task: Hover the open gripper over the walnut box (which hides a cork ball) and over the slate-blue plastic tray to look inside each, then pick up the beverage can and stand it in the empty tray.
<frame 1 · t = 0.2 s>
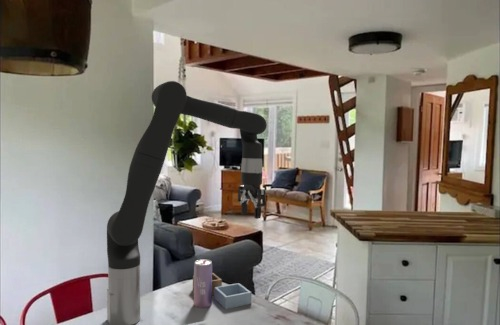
hand: (250, 216, 135), 29 cm above the table, fingers open, 8 cm apart
tray: (232, 303, 129), on the table
walnut box: (206, 294, 136), on the table
cork ball: (206, 291, 136), point 1 cm above the table, touching walnut box
beverage can: (202, 306, 126), on the table
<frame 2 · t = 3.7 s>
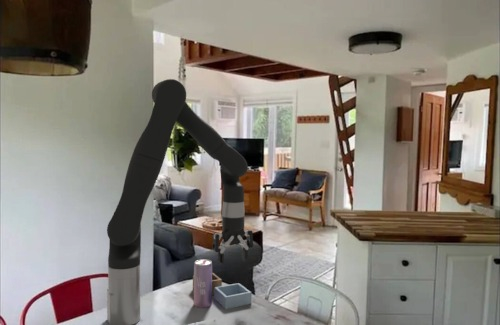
hand: (232, 261, 128), 14 cm above the table, fingers open, 8 cm apart
nothing on the table moved.
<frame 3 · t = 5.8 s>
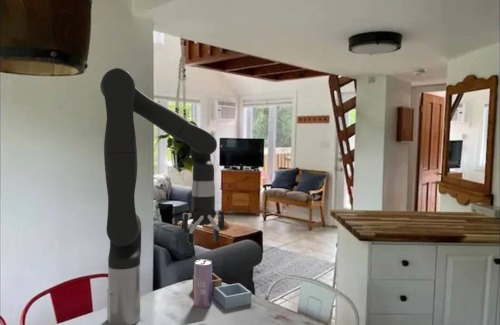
hand: (203, 242, 125), 21 cm above the table, fingers open, 8 cm apart
nothing on the table moved.
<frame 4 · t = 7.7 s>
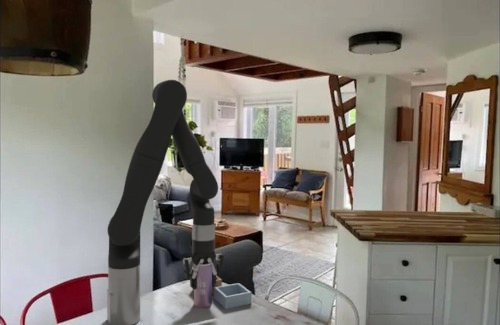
hand: (203, 286, 125), 7 cm above the table, fingers closed on beverage can, 6 cm apart
beverage can: (202, 306, 126), on the table, touching gripper
everything else where it was.
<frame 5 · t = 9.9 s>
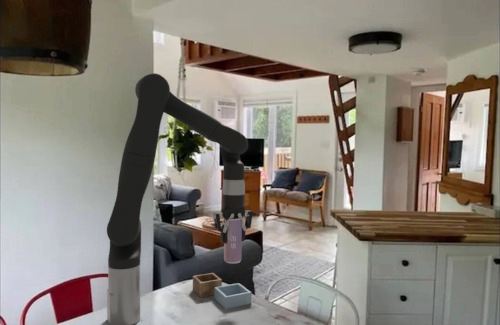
hand: (233, 241, 128), 21 cm above the table, fingers closed on beverage can, 6 cm apart
beverage can: (232, 261, 128), point 14 cm above the table, touching gripper
everything else where it was.
when the fingers open (9 cm above the table, at t = 12.6 s): beverage can drops 2 cm, resting on tray.
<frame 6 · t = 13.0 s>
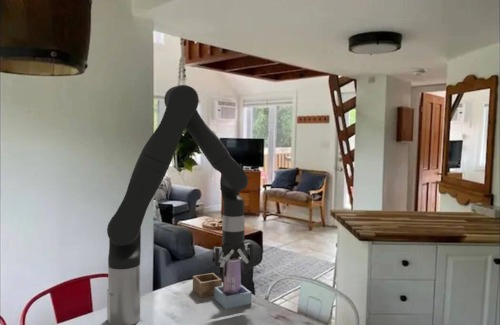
hand: (232, 275, 128), 10 cm above the table, fingers open, 8 cm apart
beverage can: (231, 302, 128), resting on tray
everything else where it was.
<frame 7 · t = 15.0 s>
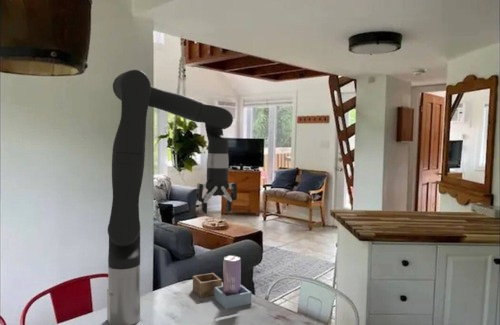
hand: (216, 212, 132), 30 cm above the table, fingers open, 8 cm apart
nothing on the table moved.
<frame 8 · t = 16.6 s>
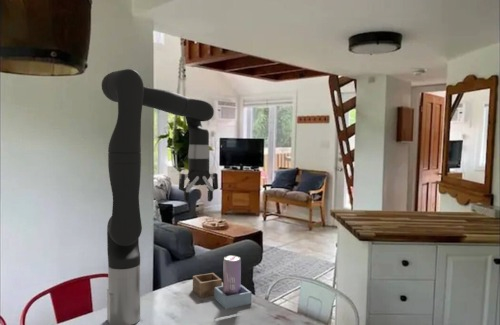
hand: (198, 201, 137), 33 cm above the table, fingers open, 8 cm apart
nothing on the table moved.
at the end: beverage can 0.3 cm off-centre on the tray, point 0.4 cm above the tray's base; beverage can tilted 0°; the gripper is holding nothing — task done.
